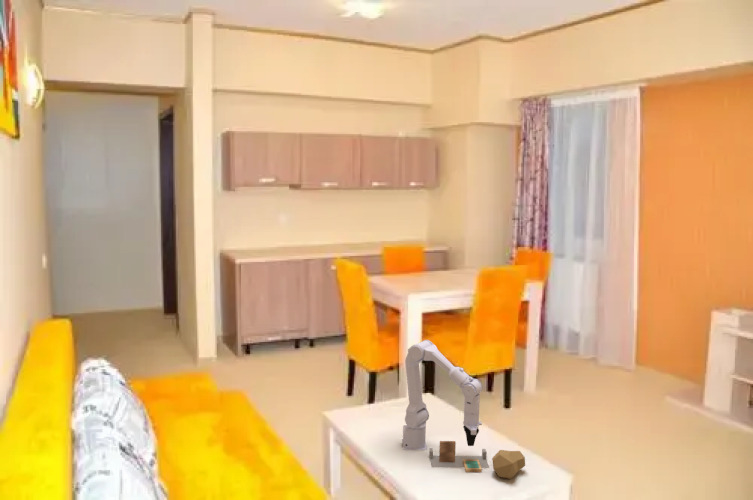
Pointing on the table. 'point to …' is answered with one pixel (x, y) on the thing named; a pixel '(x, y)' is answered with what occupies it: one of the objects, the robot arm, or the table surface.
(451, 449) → the walnut tile
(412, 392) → the robot arm
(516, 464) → the low-poly potato
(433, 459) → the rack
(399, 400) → the table surface
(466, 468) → the oak tile
